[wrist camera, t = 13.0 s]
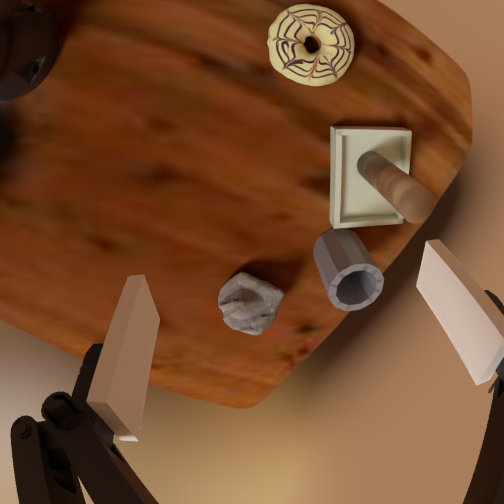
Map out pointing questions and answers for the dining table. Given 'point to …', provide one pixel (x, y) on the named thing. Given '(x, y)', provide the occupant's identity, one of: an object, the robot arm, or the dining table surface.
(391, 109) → the dining table surface
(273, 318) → the fossil
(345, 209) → the sage tray
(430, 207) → the walnut dowel
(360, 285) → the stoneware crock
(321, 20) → the decorated donut
